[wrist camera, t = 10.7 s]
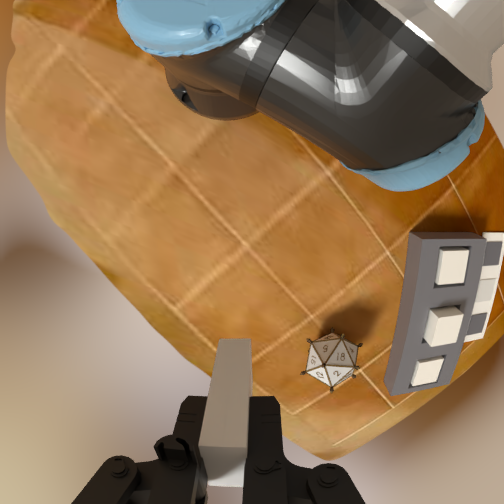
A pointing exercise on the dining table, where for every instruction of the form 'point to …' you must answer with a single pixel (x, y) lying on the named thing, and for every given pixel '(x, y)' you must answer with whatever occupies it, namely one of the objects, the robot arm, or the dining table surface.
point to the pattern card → (486, 285)
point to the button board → (431, 296)
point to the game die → (332, 359)
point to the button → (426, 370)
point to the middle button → (442, 325)
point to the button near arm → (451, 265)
